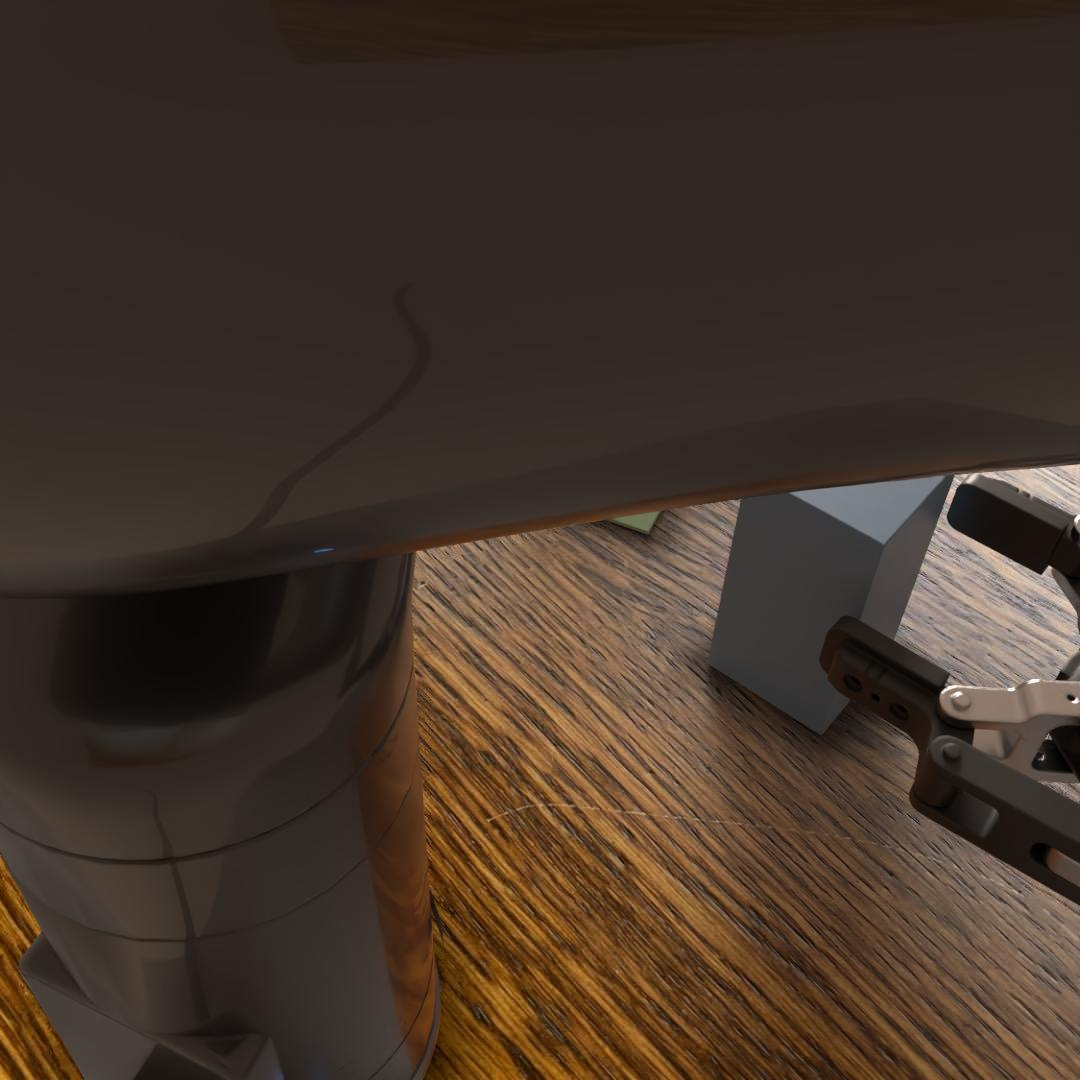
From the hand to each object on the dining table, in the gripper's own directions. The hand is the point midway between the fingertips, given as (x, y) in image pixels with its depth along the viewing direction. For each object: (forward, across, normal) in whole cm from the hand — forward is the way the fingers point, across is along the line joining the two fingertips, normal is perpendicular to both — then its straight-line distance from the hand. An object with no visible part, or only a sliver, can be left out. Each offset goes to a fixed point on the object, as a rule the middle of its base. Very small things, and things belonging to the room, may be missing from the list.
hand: (895, 564), depth 42 cm
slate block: (+2, 0, +7) cm, 7 cm away
